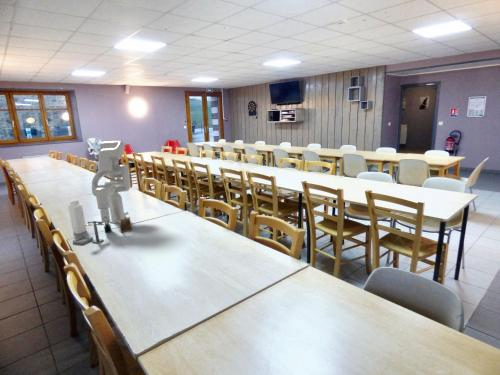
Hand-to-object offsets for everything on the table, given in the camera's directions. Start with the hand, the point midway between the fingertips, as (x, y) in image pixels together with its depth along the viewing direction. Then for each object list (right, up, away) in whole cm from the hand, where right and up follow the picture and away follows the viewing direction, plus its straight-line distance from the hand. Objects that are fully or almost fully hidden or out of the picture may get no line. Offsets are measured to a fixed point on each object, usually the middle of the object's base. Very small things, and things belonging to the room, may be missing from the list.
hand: (108, 230), depth 210 cm
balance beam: (+1, +7, -21) cm, 22 cm away
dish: (-8, -5, -17) cm, 19 cm away
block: (0, 0, 0) cm, 0 cm away
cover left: (+14, +3, -4) cm, 15 cm away
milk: (-20, -1, +2) cm, 21 cm away
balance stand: (+2, -4, -18) cm, 19 cm away
